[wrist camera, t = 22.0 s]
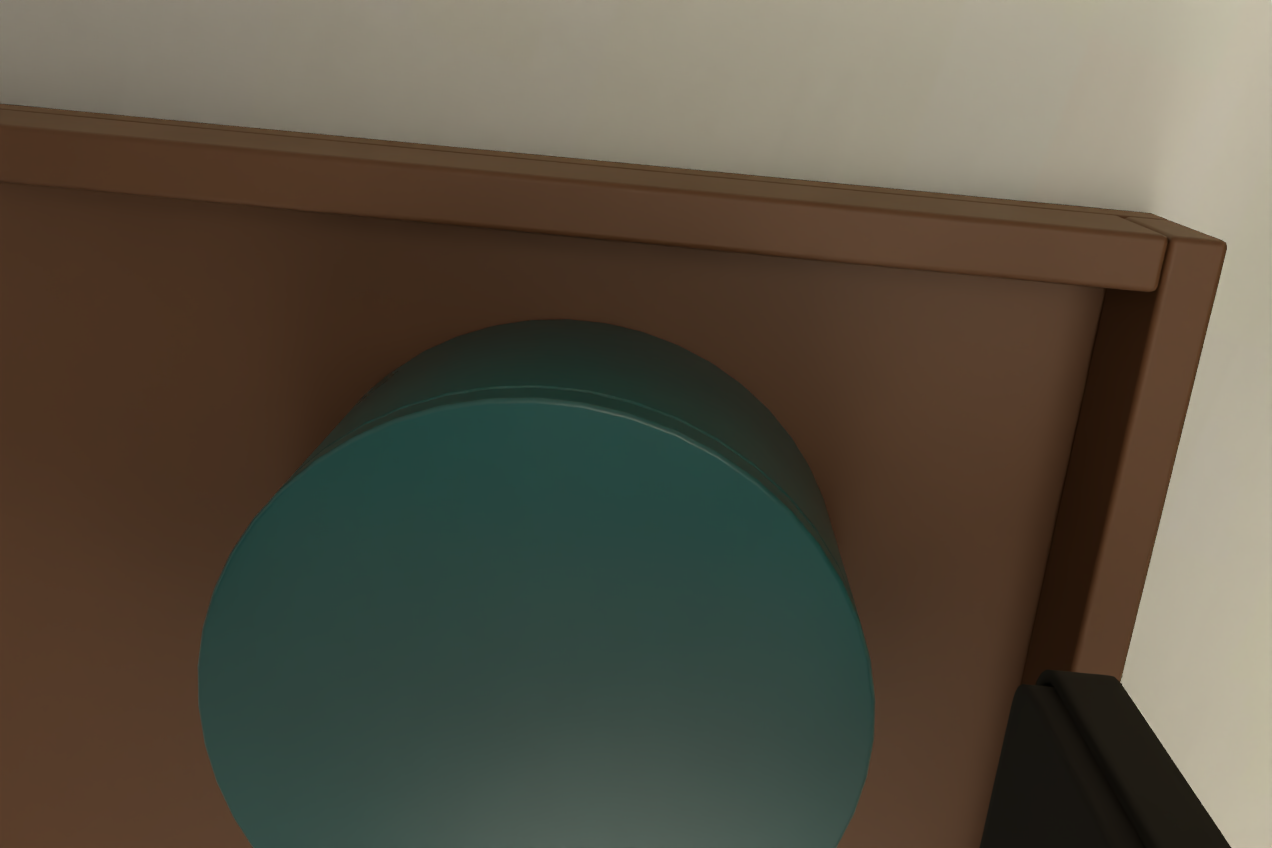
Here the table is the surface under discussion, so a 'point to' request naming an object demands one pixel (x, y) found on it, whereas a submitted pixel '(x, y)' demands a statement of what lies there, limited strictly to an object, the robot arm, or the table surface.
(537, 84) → the table surface
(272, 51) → the table surface
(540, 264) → the tray
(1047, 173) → the table surface
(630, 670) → the jar lid
